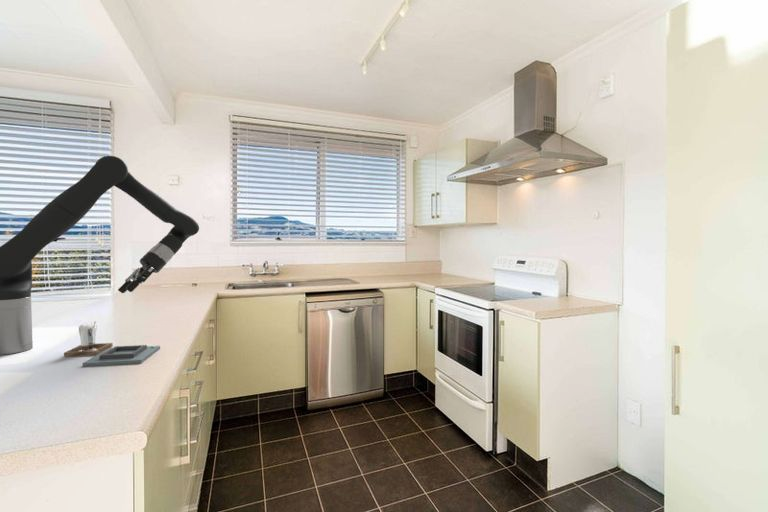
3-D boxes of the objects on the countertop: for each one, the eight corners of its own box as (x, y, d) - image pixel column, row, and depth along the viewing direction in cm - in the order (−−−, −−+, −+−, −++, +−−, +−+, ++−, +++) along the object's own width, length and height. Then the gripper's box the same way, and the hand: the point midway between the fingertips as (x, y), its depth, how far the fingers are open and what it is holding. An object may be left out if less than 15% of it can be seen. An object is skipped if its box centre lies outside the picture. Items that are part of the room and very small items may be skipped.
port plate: (82, 366, 101) (82, 359, 101) (108, 351, 115) (108, 344, 115) (141, 363, 104) (141, 355, 104) (160, 348, 118) (160, 342, 118)
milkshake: (88, 354, 112) (88, 323, 111) (75, 352, 113) (74, 322, 112) (103, 349, 116) (102, 319, 115) (89, 348, 117) (89, 318, 117)
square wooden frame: (63, 356, 109) (63, 352, 109) (81, 347, 118) (81, 344, 118) (97, 355, 111) (97, 351, 111) (112, 346, 120) (112, 342, 120)
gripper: (142, 253, 136) (108, 286, 127) (156, 248, 128) (121, 283, 118) (158, 266, 140) (127, 298, 131) (173, 262, 132) (140, 296, 122)
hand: (124, 291), depth 125 cm, fingers open, 8 cm apart
